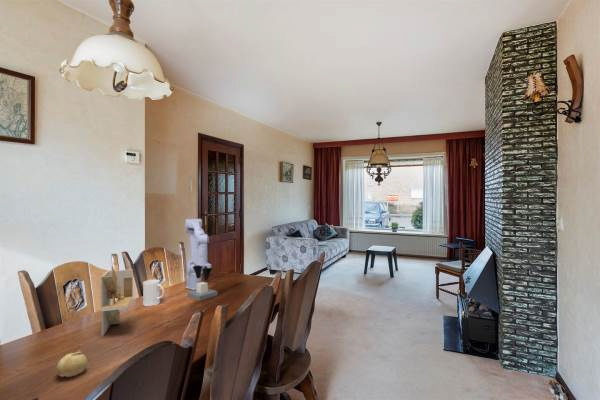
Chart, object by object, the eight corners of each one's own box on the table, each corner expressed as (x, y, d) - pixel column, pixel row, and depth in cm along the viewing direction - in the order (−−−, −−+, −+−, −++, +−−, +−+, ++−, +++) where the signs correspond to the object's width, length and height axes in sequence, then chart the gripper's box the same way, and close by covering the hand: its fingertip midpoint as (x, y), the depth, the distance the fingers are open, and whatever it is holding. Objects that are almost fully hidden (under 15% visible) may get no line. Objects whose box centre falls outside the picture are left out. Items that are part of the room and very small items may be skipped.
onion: (66, 383, 93) (66, 360, 93) (50, 378, 96) (50, 355, 96) (93, 370, 101) (92, 348, 101) (77, 365, 104) (76, 344, 104)
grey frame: (133, 322, 141) (133, 259, 142) (127, 336, 126) (127, 266, 126) (109, 325, 138) (108, 260, 138) (99, 340, 123) (99, 268, 123)
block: (196, 292, 178) (196, 283, 178) (203, 290, 182) (202, 281, 182) (201, 293, 175) (201, 284, 175) (207, 291, 179) (207, 283, 179)
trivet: (187, 296, 178) (187, 292, 178) (205, 291, 187) (205, 287, 187) (199, 300, 170) (199, 296, 170) (217, 295, 180) (217, 291, 180)
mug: (168, 302, 168) (168, 280, 168) (156, 307, 160) (156, 284, 160) (151, 300, 171) (151, 278, 171) (138, 305, 163) (138, 282, 163)
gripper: (189, 255, 180) (189, 278, 180) (203, 258, 171) (203, 282, 171) (199, 253, 186) (199, 276, 186) (214, 256, 177) (214, 279, 177)
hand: (202, 279), depth 179 cm, fingers open, 7 cm apart
